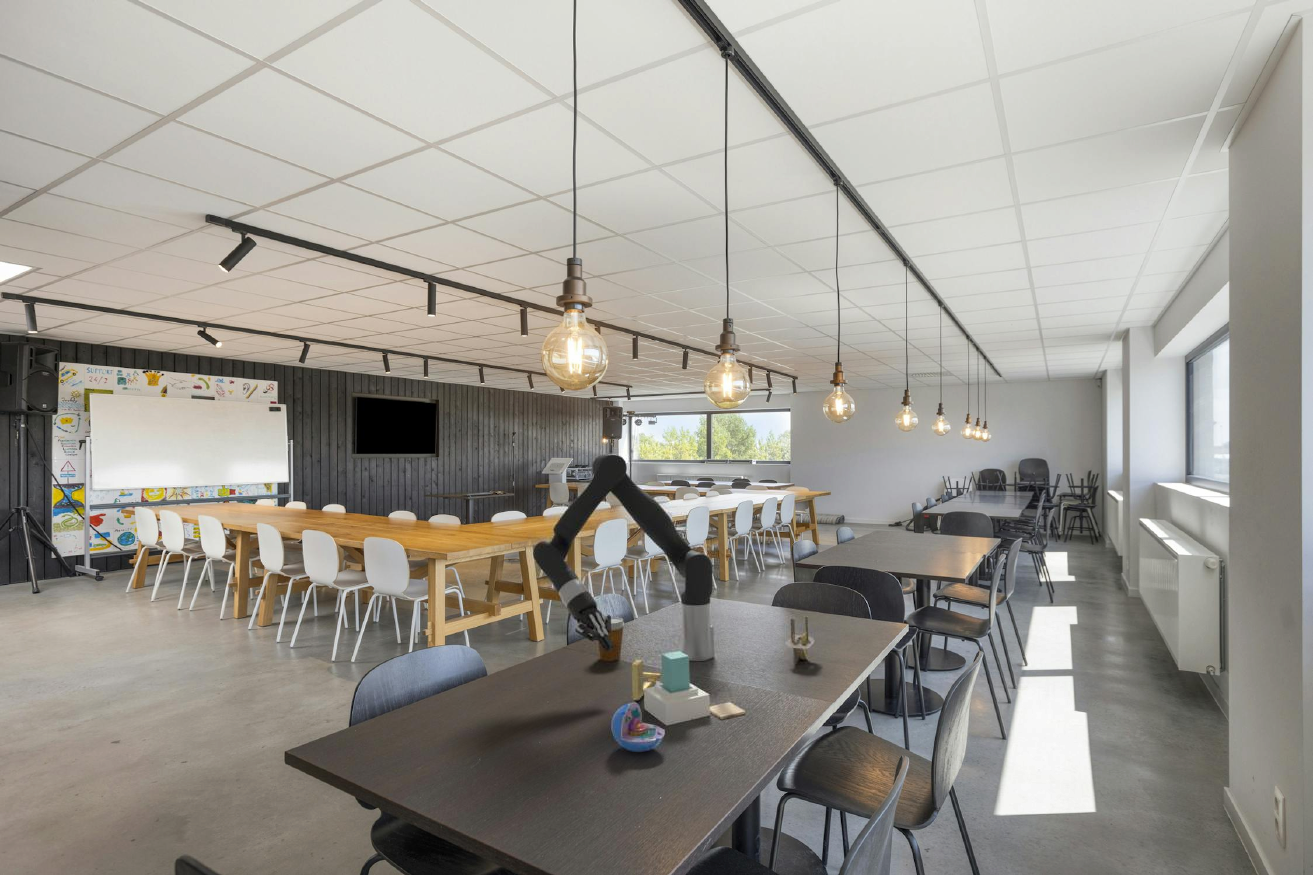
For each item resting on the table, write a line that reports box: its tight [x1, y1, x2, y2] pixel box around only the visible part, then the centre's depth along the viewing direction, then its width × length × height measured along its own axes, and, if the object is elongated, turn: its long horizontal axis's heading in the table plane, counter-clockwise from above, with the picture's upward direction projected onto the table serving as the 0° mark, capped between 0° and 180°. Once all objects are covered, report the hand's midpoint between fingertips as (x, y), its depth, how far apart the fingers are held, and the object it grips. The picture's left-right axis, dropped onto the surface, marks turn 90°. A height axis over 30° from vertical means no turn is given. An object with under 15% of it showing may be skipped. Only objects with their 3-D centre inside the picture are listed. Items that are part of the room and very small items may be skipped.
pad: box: [710, 701, 746, 720], centre depth 160 cm, size 7×7×1 cm
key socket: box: [643, 680, 662, 687], centre depth 179 cm, size 6×6×1 cm
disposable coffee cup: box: [598, 616, 625, 662], centre depth 206 cm, size 10×10×12 cm
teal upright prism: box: [661, 650, 691, 693], centre depth 161 cm, size 5×5×9 cm
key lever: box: [631, 659, 662, 701], centre depth 174 cm, size 14×5×9 cm, turn 161°
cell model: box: [610, 701, 666, 753], centre depth 140 cm, size 10×12×10 cm
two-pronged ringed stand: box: [785, 616, 815, 667], centre depth 197 cm, size 21×25×14 cm
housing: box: [643, 683, 711, 726], centre depth 160 cm, size 12×12×6 cm
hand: (610, 649), depth 174 cm, fingers closed
